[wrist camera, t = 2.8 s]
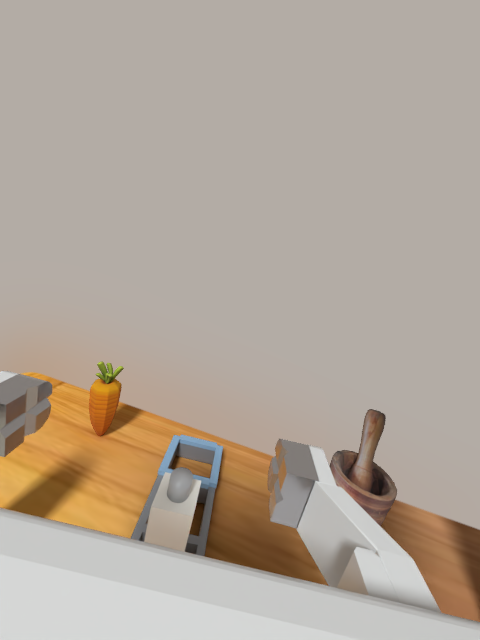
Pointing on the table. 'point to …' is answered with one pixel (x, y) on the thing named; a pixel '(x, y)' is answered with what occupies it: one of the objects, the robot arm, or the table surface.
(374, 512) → the mortar and pestle
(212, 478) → the ladder grid frame
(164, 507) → the capped white pillar
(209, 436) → the table surface
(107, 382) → the carrot
